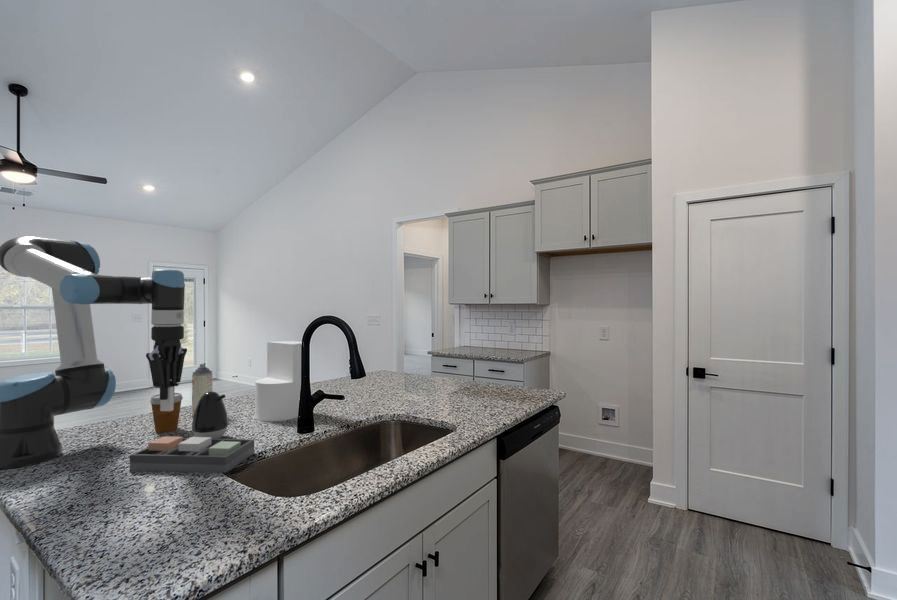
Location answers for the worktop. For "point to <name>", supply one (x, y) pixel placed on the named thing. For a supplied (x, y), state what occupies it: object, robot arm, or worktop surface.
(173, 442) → the key terracotta
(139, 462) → the grey compartment tray
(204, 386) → the aerosol can
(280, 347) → the white toilet
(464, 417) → the worktop surface
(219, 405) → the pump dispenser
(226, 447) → the key sage
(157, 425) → the disposable coffee cup
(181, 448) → the key grey
